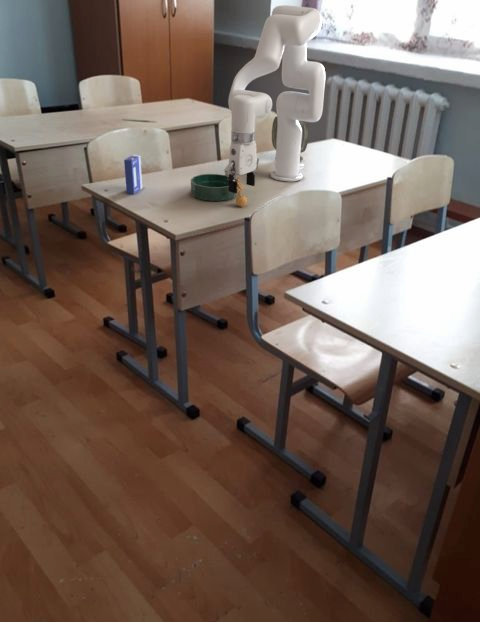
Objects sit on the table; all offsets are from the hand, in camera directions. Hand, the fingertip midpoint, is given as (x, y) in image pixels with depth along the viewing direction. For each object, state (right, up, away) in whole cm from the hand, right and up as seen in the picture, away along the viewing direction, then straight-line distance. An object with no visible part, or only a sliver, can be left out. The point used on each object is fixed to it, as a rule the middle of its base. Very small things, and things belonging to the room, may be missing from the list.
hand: (241, 188), depth 202 cm
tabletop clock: (+17, +29, +58) cm, 67 cm away
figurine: (-1, -6, +2) cm, 6 cm away
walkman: (-39, +2, +10) cm, 40 cm away
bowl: (-11, +1, +12) cm, 16 cm away
